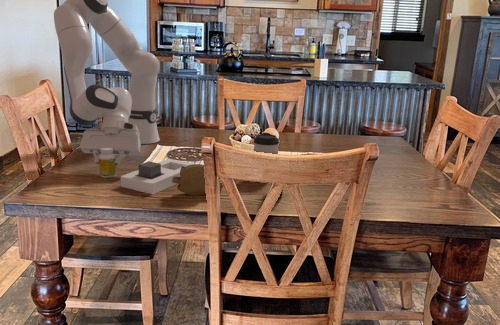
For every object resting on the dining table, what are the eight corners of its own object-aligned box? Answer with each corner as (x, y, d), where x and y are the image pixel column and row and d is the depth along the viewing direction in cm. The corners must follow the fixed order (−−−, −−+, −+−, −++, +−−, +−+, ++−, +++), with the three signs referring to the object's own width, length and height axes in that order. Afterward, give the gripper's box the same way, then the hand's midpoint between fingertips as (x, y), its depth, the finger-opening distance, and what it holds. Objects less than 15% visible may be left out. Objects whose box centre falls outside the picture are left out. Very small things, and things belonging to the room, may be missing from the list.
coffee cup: (278, 180, 165) (280, 138, 160) (252, 180, 165) (253, 137, 160) (276, 172, 173) (278, 132, 169) (251, 172, 173) (253, 131, 169)
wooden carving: (224, 191, 153) (224, 161, 150) (225, 196, 148) (226, 165, 146) (171, 192, 150) (171, 161, 147) (171, 197, 146) (171, 166, 143)
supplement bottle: (109, 179, 160) (108, 151, 158) (96, 176, 162) (94, 148, 160) (119, 174, 165) (118, 147, 163) (106, 172, 167) (105, 145, 164)
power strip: (121, 186, 154) (120, 165, 152) (169, 167, 175) (169, 149, 173) (152, 194, 148) (152, 172, 146) (198, 174, 169) (199, 154, 167)
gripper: (82, 123, 166) (73, 158, 159) (140, 125, 166) (134, 160, 159) (87, 133, 172) (79, 167, 165) (144, 135, 171) (138, 169, 165)
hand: (106, 163), depth 162 cm, fingers closed on supplement bottle, 5 cm apart
